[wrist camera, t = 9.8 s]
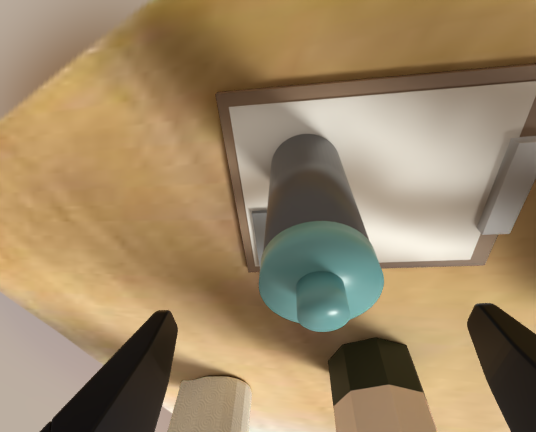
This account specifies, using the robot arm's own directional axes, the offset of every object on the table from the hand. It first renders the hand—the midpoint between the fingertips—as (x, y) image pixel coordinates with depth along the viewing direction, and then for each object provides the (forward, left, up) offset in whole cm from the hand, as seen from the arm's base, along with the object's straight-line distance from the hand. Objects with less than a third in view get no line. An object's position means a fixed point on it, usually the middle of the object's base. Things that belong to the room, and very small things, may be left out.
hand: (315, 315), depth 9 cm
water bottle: (0, 0, -10) cm, 10 cm away
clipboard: (-2, -4, -11) cm, 12 cm away
